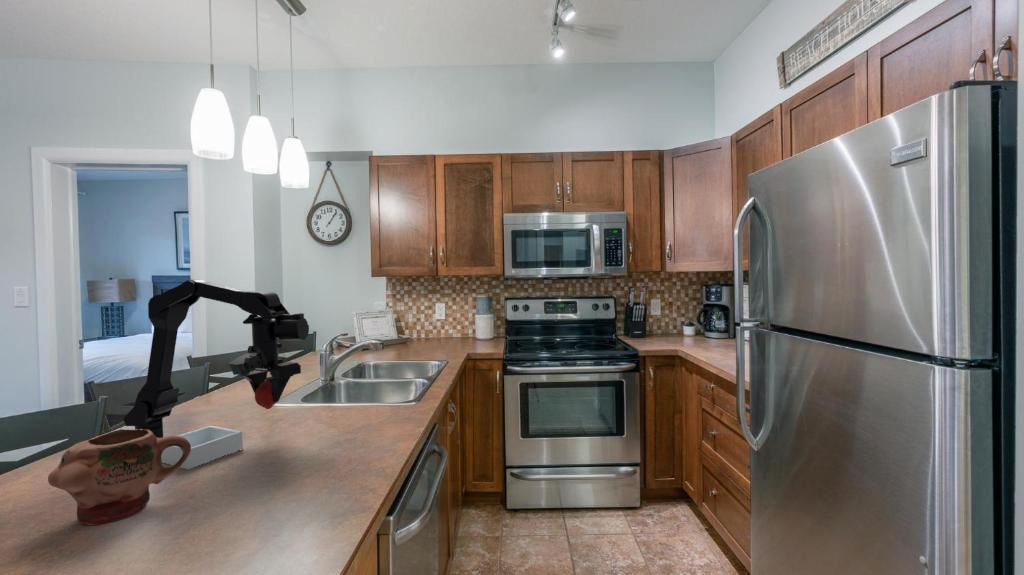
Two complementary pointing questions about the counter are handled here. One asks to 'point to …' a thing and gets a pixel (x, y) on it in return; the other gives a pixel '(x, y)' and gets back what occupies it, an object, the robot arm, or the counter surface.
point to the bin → (205, 446)
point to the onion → (264, 395)
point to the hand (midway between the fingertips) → (267, 401)
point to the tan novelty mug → (115, 473)
